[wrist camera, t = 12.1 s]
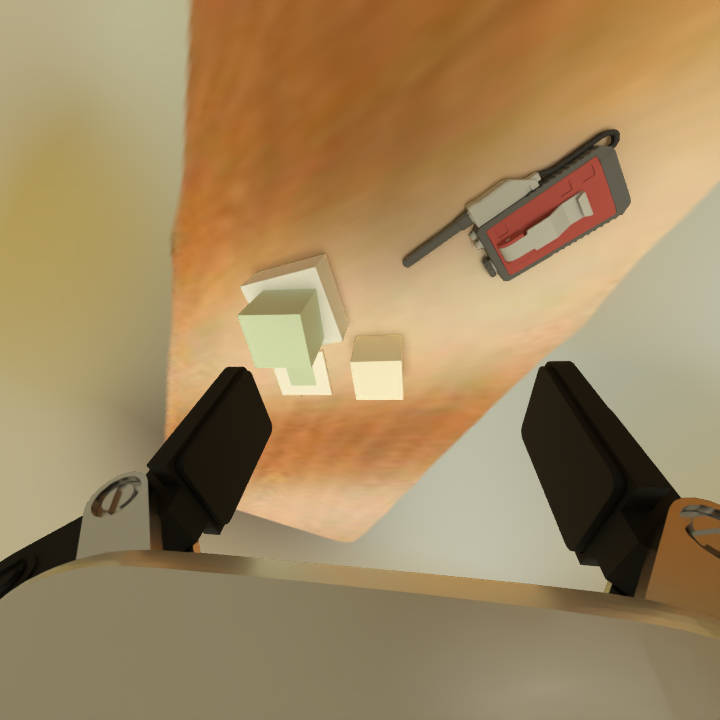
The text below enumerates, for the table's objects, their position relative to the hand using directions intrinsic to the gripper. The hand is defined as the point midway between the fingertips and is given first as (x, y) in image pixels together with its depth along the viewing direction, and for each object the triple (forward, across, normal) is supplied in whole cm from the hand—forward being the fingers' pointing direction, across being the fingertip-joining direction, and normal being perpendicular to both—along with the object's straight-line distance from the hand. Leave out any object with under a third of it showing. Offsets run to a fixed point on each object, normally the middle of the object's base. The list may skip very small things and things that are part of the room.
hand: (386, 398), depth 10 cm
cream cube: (+26, +3, +16) cm, 31 cm away
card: (+26, +15, +19) cm, 36 cm away
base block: (+27, +12, +7) cm, 30 cm away
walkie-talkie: (+27, -11, +1) cm, 29 cm away
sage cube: (+22, +12, +7) cm, 26 cm away
